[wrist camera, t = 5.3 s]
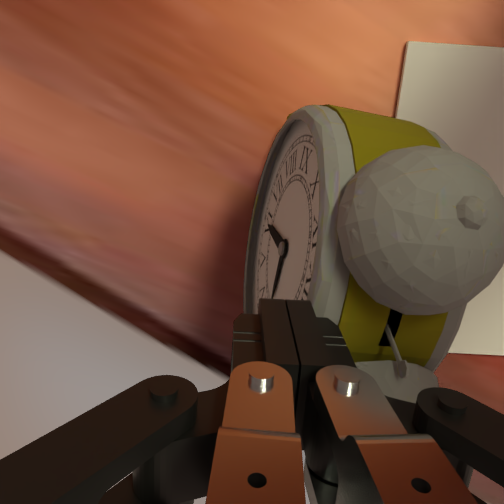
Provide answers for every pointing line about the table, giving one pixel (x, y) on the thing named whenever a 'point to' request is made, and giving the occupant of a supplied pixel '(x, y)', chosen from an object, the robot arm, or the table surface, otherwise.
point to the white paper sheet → (463, 146)
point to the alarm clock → (375, 237)
